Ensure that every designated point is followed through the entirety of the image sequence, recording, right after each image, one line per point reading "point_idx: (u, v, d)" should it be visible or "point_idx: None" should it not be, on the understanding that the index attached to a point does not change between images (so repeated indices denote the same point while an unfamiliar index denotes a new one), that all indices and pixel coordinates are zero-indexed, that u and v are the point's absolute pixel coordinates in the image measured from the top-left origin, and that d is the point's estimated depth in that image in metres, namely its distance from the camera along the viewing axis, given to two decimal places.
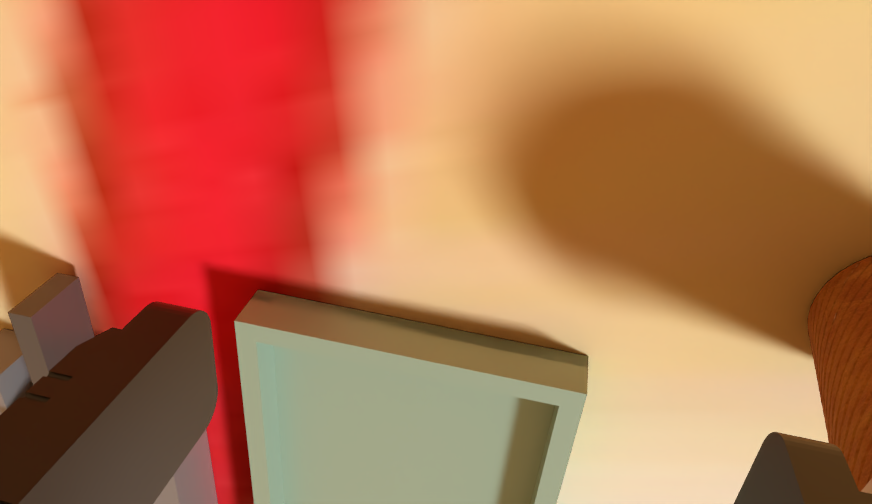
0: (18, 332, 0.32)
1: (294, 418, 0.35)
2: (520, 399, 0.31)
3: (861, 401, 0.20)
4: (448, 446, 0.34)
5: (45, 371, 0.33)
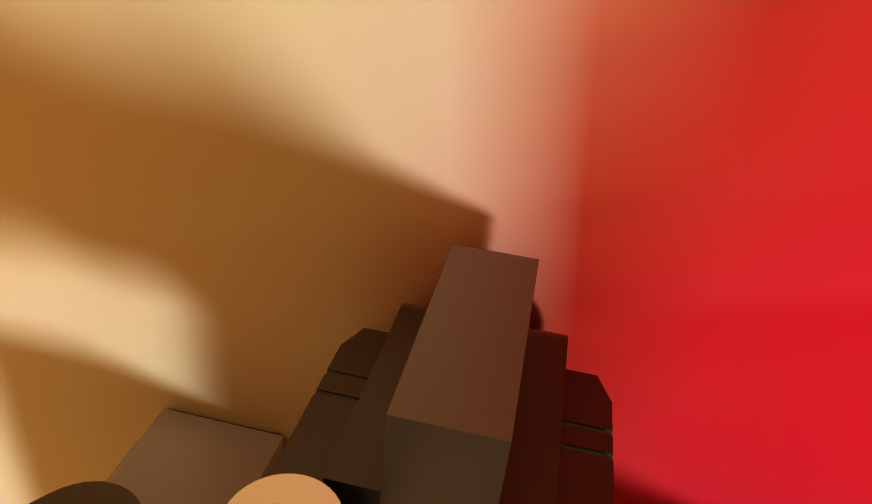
0: (404, 500, 0.07)
1: None
2: None
3: None
4: None
5: None
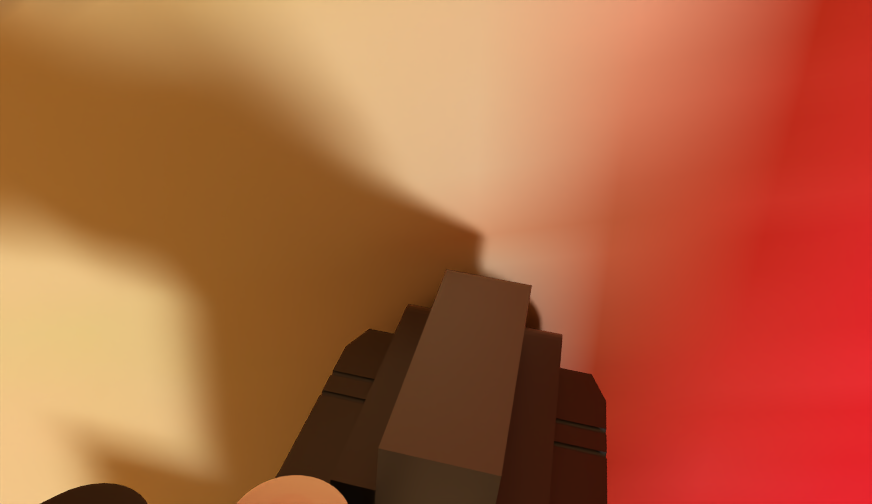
0: None
1: None
2: None
3: None
4: None
5: None
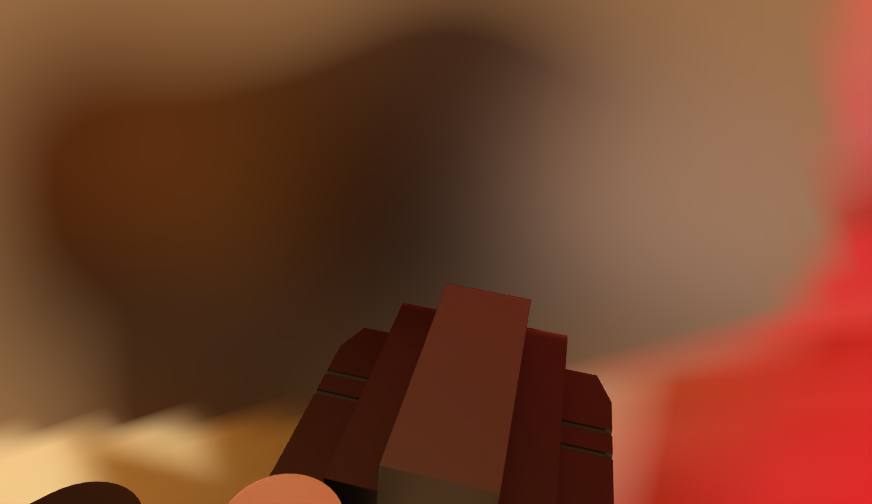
0: None
1: None
2: None
3: None
4: None
5: None
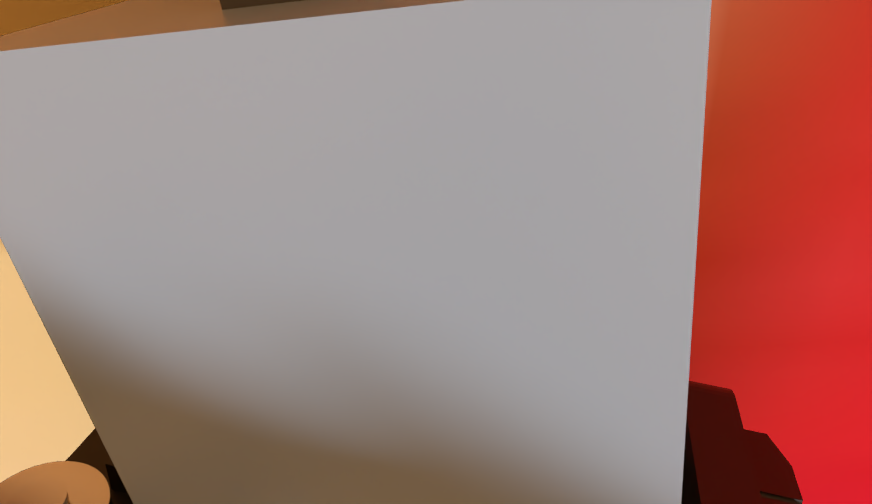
0: None
1: None
2: None
3: None
4: None
5: None
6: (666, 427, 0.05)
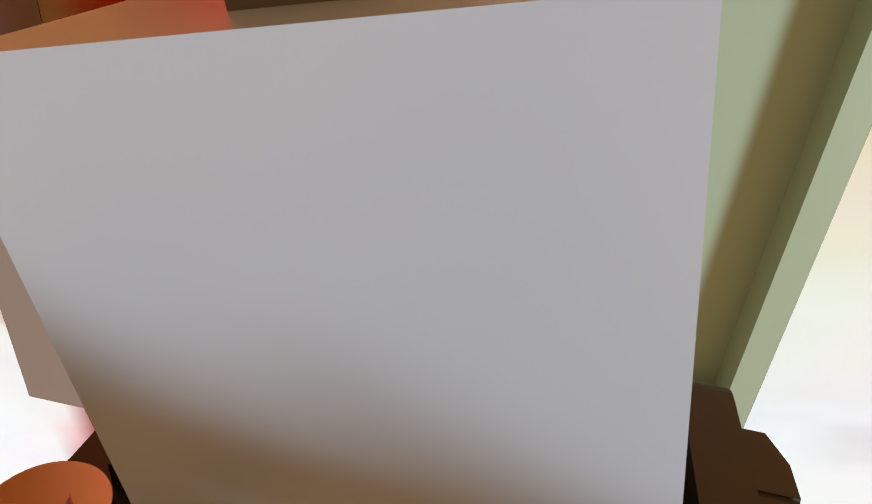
0: None
1: None
2: None
3: None
4: None
5: None
6: (668, 434, 0.05)
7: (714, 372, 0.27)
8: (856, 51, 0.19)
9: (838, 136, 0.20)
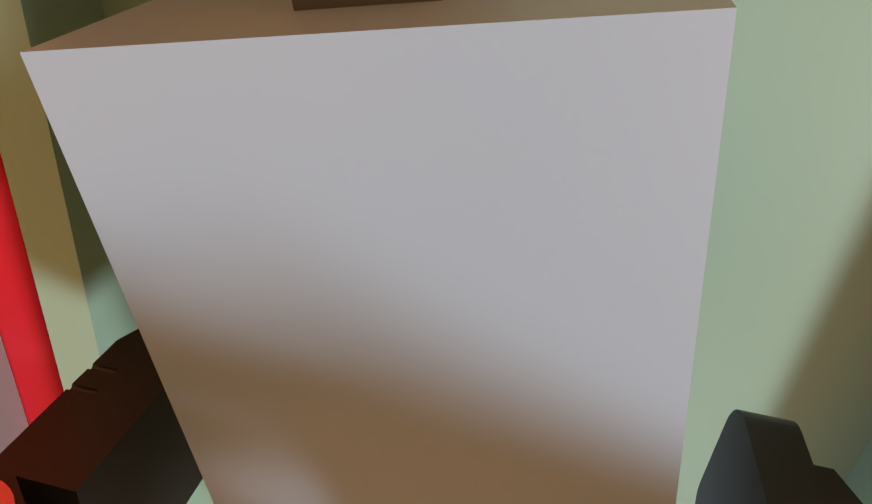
0: None
1: None
2: None
3: None
4: None
5: None
6: (673, 385, 0.05)
7: None
8: None
9: None
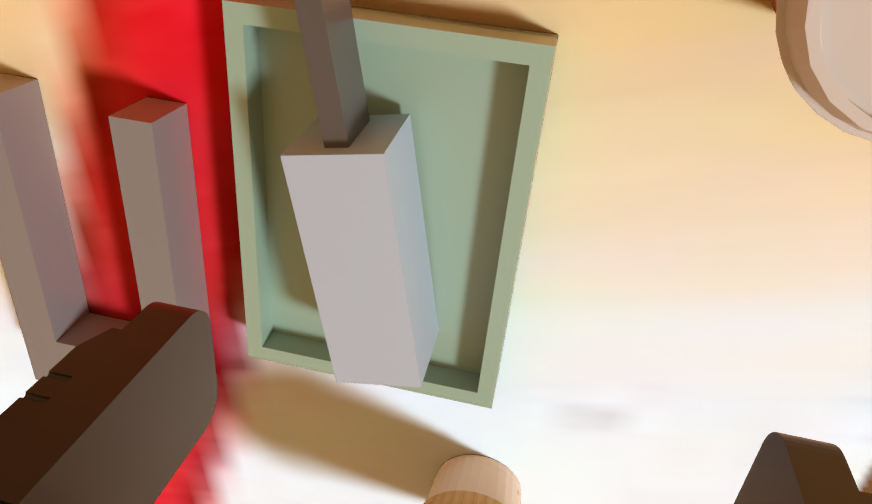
0: None
1: (279, 141, 0.37)
2: (494, 87, 0.33)
3: None
4: (427, 157, 0.35)
5: (326, 48, 0.28)
6: (390, 212, 0.31)
7: (480, 368, 0.42)
8: None
9: (507, 233, 0.35)
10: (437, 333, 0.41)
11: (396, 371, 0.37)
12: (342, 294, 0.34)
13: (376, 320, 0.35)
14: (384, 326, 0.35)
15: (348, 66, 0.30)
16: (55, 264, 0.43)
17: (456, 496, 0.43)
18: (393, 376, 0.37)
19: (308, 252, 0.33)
